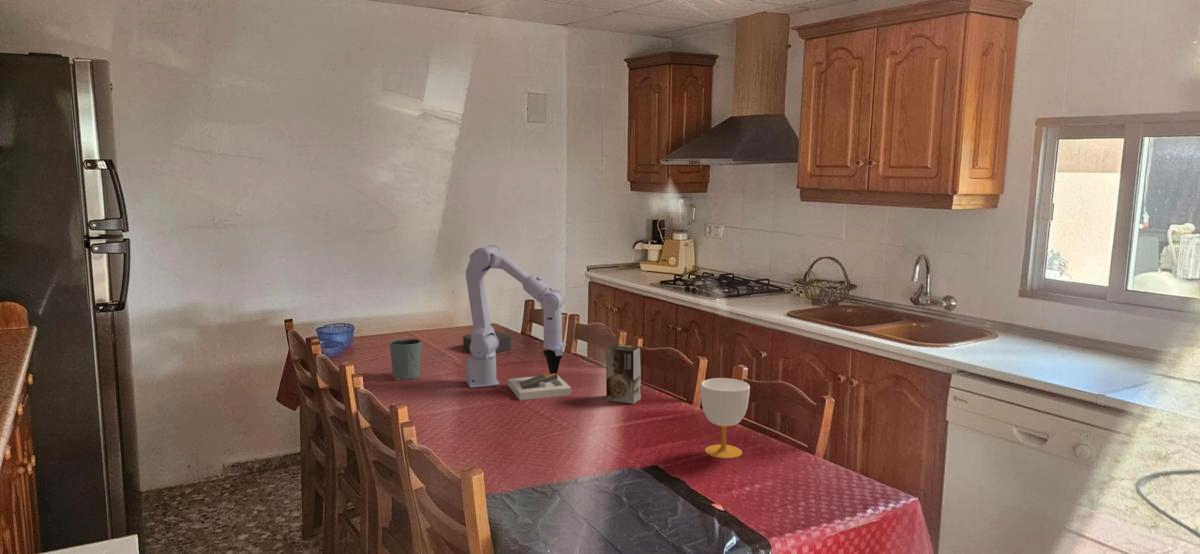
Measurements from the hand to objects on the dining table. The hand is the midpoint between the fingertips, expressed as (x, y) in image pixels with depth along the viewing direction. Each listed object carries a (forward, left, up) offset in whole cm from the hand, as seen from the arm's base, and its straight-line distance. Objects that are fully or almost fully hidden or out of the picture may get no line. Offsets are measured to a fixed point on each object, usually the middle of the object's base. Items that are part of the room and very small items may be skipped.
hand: (553, 373), depth 243 cm
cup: (+25, -65, -5) cm, 70 cm away
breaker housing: (-5, 0, -5) cm, 7 cm away
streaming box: (-9, +60, -6) cm, 61 cm away
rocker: (-5, 0, -2) cm, 5 cm away
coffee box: (+17, -17, -5) cm, 25 cm away
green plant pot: (-42, +29, -5) cm, 51 cm away
